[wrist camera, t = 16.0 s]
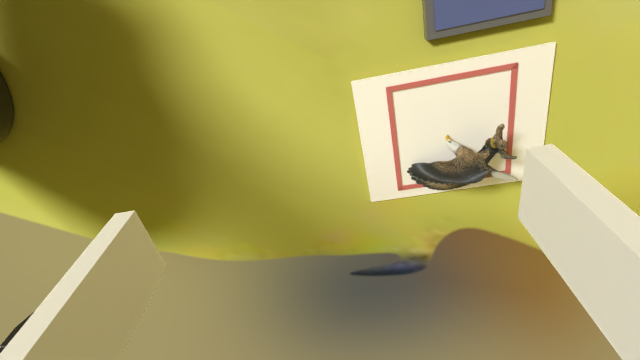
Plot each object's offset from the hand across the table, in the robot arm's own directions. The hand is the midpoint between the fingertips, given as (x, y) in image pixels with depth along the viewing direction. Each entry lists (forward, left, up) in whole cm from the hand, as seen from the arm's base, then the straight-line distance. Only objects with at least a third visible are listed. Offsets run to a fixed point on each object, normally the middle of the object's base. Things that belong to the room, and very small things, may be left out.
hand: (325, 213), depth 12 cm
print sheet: (+10, -10, -24) cm, 28 cm away
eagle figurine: (+10, -12, -24) cm, 29 cm away
